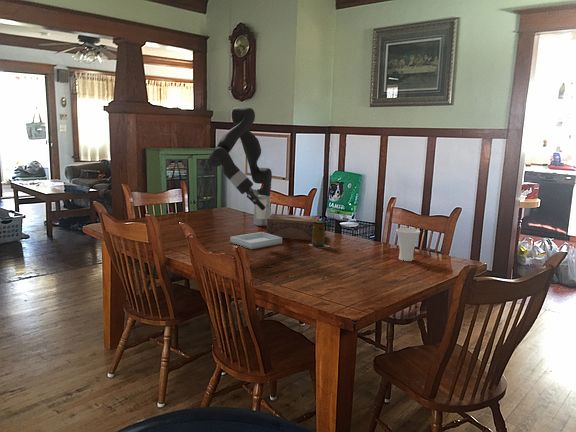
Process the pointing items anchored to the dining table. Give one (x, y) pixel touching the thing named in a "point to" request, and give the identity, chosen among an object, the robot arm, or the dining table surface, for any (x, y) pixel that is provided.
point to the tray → (256, 240)
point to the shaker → (260, 213)
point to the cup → (407, 242)
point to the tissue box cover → (291, 226)
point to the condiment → (318, 235)
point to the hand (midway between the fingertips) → (265, 208)
